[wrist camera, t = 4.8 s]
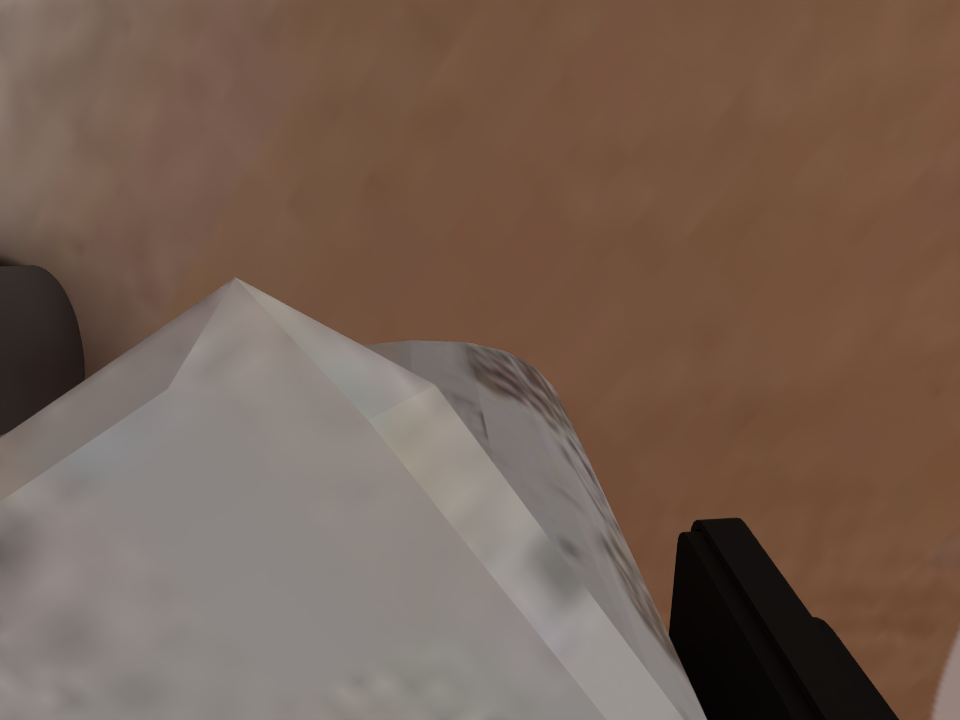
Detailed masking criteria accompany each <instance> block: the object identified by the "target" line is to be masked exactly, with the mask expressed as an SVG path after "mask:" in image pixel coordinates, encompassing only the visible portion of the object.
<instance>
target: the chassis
mask: <svg viewBox="0 0 960 720" xmlns="http://www.w3.org/2000/svg"><path fill="white" fill-rule="evenodd" d="M83 381H84V357H83V348H82V342H81V336H80V331H79V327H78V323H77V320H76V316H75V313H74V311H73V308H72V305H71V303H70V301H69V298H68V296H67V295H66V293H65V291H64V289H63V288H62V286H61V285H60V283H59V282H58V281H57V280H56V278H55V277H54V276H53V275H52V274H50V273H49V272H48V271H47V270H45V269H43V268H41V267H38V266H34V265H31V266H0V436H1V435H4V434H6V433H8V432H10V431H11V430H13V429H14V428H16V427H17V426H19V425H20V424H22V423H23V422H24V421H26V420H27V419H29V418H30V417H32V416H33V415H35V414H36V413H38V412H39V411H41V410H42V409H43V408H45V407H46V406H48V405H49V404H51V403H52V402H54V401H55V400H57V399H58V398H60V397H61V396H63V395H64V394H65V393H67V392H68V391H70V390H71V389H73V388H74V387H76V386H77V385H79V384H80V383H82V382H83Z"/></svg>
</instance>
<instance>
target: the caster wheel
mask: <svg viewBox="0 0 960 720" xmlns="http://www.w3.org/2000/svg"><path fill="white" fill-rule="evenodd" d="M0 720H707V719H706V716H705V714H704V712H703V710H702V708H701V705H700V703H699V701H698V699H697V697H696V694H695V692H694V690H693V688H692V686H691V683H690V681H689V679H688V677H687V675H686V673H685V670H684V668H683V666H682V664H681V662H680V659H679V657H678V655H677V653H676V651H675V648H674V646H673V644H672V642H671V640H670V637H669V635H668V633H667V631H666V629H665V626H664V624H663V622H662V620H661V618H660V616H659V613H658V611H657V609H656V607H655V605H654V602H653V600H652V598H651V596H650V594H649V591H648V589H647V587H646V585H645V583H644V580H643V578H642V576H641V574H640V572H639V570H638V567H637V565H636V563H635V561H634V559H633V556H632V554H631V552H630V550H629V548H628V545H627V543H626V541H625V539H624V537H623V534H622V532H621V530H620V528H619V526H618V523H617V521H616V519H615V517H614V515H613V513H612V510H611V508H610V506H609V504H608V502H607V499H606V497H605V495H604V493H603V491H602V488H601V486H600V484H599V482H598V480H597V477H596V475H595V473H594V471H593V469H592V467H591V464H590V462H589V460H588V458H587V456H586V453H585V451H584V449H583V447H582V445H581V442H580V440H579V438H578V436H577V434H576V431H575V429H574V427H573V425H572V423H571V420H570V418H569V416H568V414H567V412H566V410H565V408H564V406H563V404H562V402H561V400H560V398H559V396H558V394H557V392H556V390H555V388H554V387H553V386H552V385H551V384H550V383H549V382H548V381H547V380H546V379H545V378H544V377H543V375H542V374H541V373H540V372H539V371H538V370H537V369H536V368H535V367H534V366H532V365H530V364H528V363H526V362H524V361H523V360H521V359H519V358H517V357H515V356H513V355H512V354H510V353H508V352H506V351H502V350H497V349H493V348H489V347H484V346H480V345H476V344H472V343H467V342H439V341H401V342H391V343H381V344H372V345H360V344H358V343H356V342H354V341H353V340H351V339H349V338H347V337H345V336H343V335H341V334H340V333H338V332H336V331H334V330H332V329H330V328H328V327H327V326H325V325H323V324H321V323H319V322H317V321H315V320H314V319H312V318H310V317H308V316H306V315H304V314H302V313H300V312H299V311H297V310H295V309H293V308H291V307H289V306H287V305H286V304H284V303H282V302H280V301H278V300H276V299H274V298H273V297H271V296H269V295H267V294H265V293H263V292H261V291H260V290H258V289H256V288H254V287H252V286H250V285H248V284H246V283H245V282H243V281H241V280H239V279H237V278H234V279H232V280H231V281H229V282H228V283H226V284H225V285H223V286H222V287H221V288H219V289H218V290H216V291H215V292H213V293H212V294H210V295H209V296H207V297H206V298H204V299H203V300H201V301H200V302H199V303H197V304H196V305H194V306H193V307H191V308H190V309H188V310H187V311H185V312H184V313H182V314H181V315H180V316H178V317H177V318H175V319H174V320H172V321H171V322H169V323H168V324H166V325H165V326H163V327H162V328H161V329H159V330H158V331H156V332H155V333H153V334H152V335H150V336H149V337H147V338H146V339H144V340H143V341H142V342H140V343H139V344H137V345H136V346H134V347H133V348H131V349H130V350H128V351H127V352H125V353H124V354H122V355H121V356H120V357H118V358H117V359H115V360H114V361H112V362H111V363H109V364H108V365H106V366H105V367H103V368H102V369H101V370H99V371H98V372H96V373H95V374H93V375H92V376H90V377H89V378H87V379H86V380H84V381H83V382H82V383H80V384H79V385H77V386H76V387H74V388H73V389H71V390H70V391H68V392H67V393H65V394H64V395H63V396H61V397H60V398H58V399H57V400H55V401H54V402H52V403H51V404H49V405H48V406H46V407H45V408H43V409H42V410H41V411H39V412H38V413H36V414H35V415H33V416H32V417H30V418H29V419H27V420H26V421H24V422H23V423H22V424H20V425H19V426H17V427H16V428H14V429H13V430H11V431H10V432H8V433H6V434H4V435H1V436H0Z"/></svg>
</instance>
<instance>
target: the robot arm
mask: <svg viewBox="0 0 960 720" xmlns="http://www.w3.org/2000/svg"><path fill="white" fill-rule="evenodd" d="M669 637H670V640H671V642H672V644H673V646H674V648H675V651H676V653H677V655H678V657H679V659H680V662H681V664H682V666H683V668H684V670H685V673H686V675H687V677H688V679H689V681H690V683H691V686H692V688H693V690H694V692H695V694H696V697H697V699H698V701H699V703H700V705H701V708H702V710H703V712H704V714H705V716H706V719H707V720H899V719H898V718H897V716H896V715H895V713H894V712H893V711H892V709H891V708H890V707H889V705H888V704H887V703H886V701H885V700H884V699H883V697H882V696H881V694H880V693H879V692H878V690H877V689H876V688H875V686H874V685H873V684H872V682H871V681H870V680H869V678H868V677H867V675H866V674H865V673H864V671H863V670H862V669H861V667H860V666H859V665H858V663H857V662H856V661H855V659H854V658H853V657H852V655H851V654H850V652H849V651H848V650H847V648H846V647H845V646H844V644H843V643H842V642H841V640H840V639H839V638H838V636H837V635H836V633H835V632H834V631H833V629H832V628H831V627H830V626H829V625H828V624H827V623H826V622H825V621H824V620H821V619H819V618H817V617H812V616H811V614H810V613H809V612H808V610H807V609H806V607H805V606H804V605H803V603H802V602H801V600H800V599H799V598H798V596H797V595H796V594H795V592H794V591H793V589H792V588H791V587H790V585H789V584H788V582H787V581H786V580H785V578H784V577H783V575H782V574H781V573H780V571H779V570H778V568H777V567H776V566H775V564H774V563H773V561H772V560H771V559H770V557H769V556H768V555H767V553H766V552H765V550H764V549H763V548H762V546H761V545H760V543H759V542H758V541H757V539H756V538H755V536H754V535H753V534H752V532H751V531H750V529H749V528H748V527H747V525H746V524H745V523H744V522H743V521H742V520H741V519H740V518H723V519H706V520H696V521H695V522H694V523H693V525H692V527H691V532H682V533H680V535H679V537H678V543H677V553H676V564H675V574H674V585H673V596H672V607H671V617H670V628H669Z"/></svg>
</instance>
